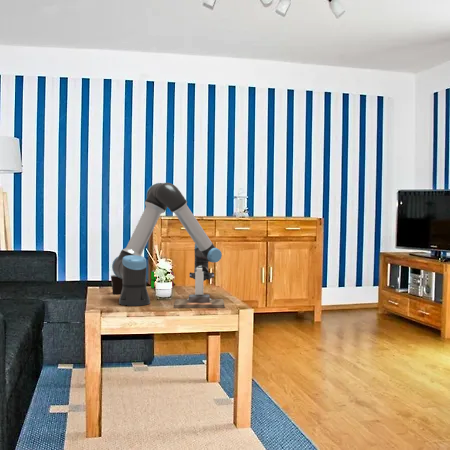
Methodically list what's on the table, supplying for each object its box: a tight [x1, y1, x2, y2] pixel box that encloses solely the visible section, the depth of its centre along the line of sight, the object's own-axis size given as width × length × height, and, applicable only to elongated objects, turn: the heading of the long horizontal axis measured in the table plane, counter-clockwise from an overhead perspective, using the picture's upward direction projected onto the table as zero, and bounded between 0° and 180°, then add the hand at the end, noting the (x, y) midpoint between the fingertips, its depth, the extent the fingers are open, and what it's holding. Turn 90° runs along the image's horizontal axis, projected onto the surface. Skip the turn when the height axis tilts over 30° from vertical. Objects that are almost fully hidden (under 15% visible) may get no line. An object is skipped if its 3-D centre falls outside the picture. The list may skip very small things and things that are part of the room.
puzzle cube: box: [150, 270, 174, 289], centre depth 367 cm, size 10×10×10 cm
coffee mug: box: [110, 274, 123, 295], centre depth 347 cm, size 12×9×10 cm
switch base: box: [173, 294, 225, 309], centre depth 308 cm, size 24×18×4 cm
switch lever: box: [194, 268, 204, 295], centre depth 308 cm, size 4×3×13 cm, turn 92°
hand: (202, 278), depth 309 cm, fingers closed
